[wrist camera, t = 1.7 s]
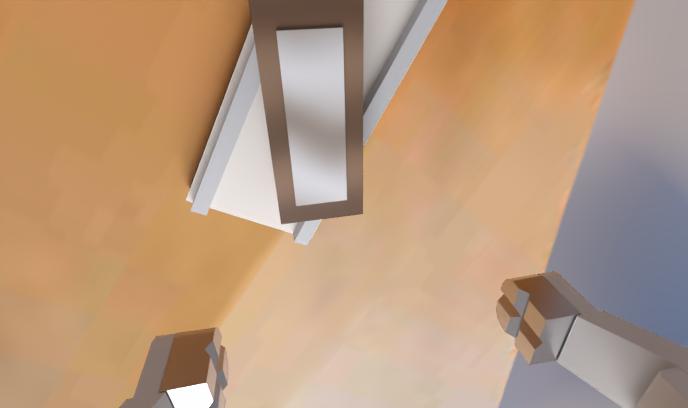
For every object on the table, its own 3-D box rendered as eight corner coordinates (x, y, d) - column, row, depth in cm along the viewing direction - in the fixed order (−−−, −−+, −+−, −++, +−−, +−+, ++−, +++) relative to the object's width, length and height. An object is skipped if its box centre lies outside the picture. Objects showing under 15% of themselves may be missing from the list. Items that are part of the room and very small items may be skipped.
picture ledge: (301, -111, 21) (306, -123, 19) (442, -8, 25) (459, -7, 23) (189, 191, 29) (183, 208, 27) (308, 229, 34) (312, 247, 31)
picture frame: (250, -4, 21) (248, -1, 18) (350, -7, 22) (364, -6, 19) (279, 199, 28) (281, 226, 25) (352, 190, 29) (363, 215, 26)
